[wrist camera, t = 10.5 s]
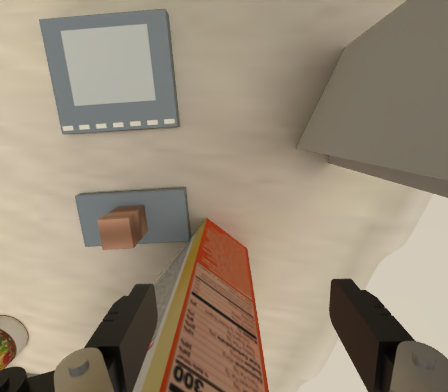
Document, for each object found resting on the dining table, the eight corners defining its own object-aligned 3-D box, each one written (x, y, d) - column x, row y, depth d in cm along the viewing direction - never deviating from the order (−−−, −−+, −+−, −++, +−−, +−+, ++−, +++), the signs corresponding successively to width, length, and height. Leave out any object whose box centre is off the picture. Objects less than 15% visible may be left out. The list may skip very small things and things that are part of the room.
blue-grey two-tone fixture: (80, 193, 39) (46, 207, 32) (185, 187, 39) (175, 199, 31) (90, 242, 41) (60, 266, 34) (190, 237, 40) (182, 260, 33)
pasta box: (163, 342, 45) (42, 718, 16) (124, 316, 44) (-78, 669, 15) (247, 248, 41) (290, 533, 12) (206, 218, 40) (144, 446, 11)
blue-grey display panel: (48, 25, 34) (38, 19, 32) (168, 15, 34) (165, 8, 32) (69, 134, 37) (61, 134, 36) (179, 126, 37) (177, 126, 35)
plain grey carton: (329, 163, 37) (680, 266, 8) (295, 148, 37) (538, 200, 8) (381, 65, 34) (1241, -327, 5) (344, 47, 34) (1049, -487, 5)
